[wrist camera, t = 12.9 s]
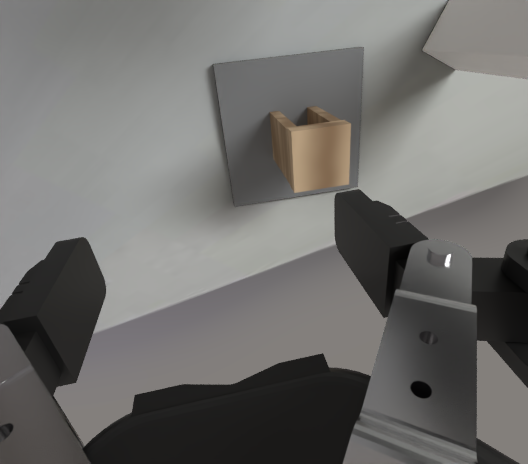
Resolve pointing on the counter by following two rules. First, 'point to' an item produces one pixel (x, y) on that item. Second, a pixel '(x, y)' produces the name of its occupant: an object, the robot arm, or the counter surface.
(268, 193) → the mat
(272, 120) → the tan notched block
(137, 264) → the counter surface
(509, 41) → the milk
